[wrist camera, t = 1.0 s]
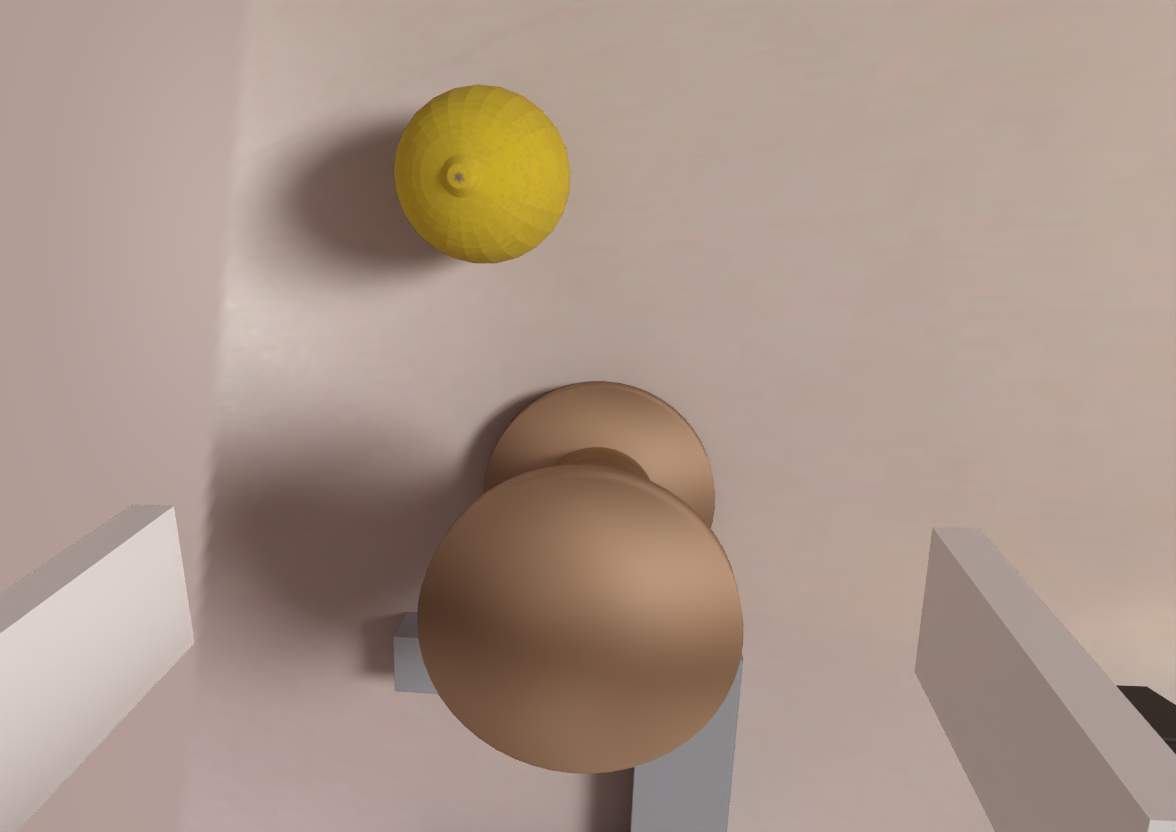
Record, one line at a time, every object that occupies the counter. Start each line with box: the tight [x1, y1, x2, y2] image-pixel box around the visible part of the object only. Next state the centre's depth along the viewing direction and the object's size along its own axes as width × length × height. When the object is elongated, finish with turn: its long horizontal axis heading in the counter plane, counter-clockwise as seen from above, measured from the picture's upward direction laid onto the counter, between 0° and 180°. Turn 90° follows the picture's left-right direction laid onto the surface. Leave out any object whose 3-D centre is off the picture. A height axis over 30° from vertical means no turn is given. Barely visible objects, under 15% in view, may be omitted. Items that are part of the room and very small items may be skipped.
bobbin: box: [417, 381, 743, 773], centre depth 29 cm, size 9×9×11 cm
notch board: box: [393, 613, 743, 832], centre depth 37 cm, size 14×14×2 cm
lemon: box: [394, 85, 570, 263], centre depth 28 cm, size 6×6×8 cm
